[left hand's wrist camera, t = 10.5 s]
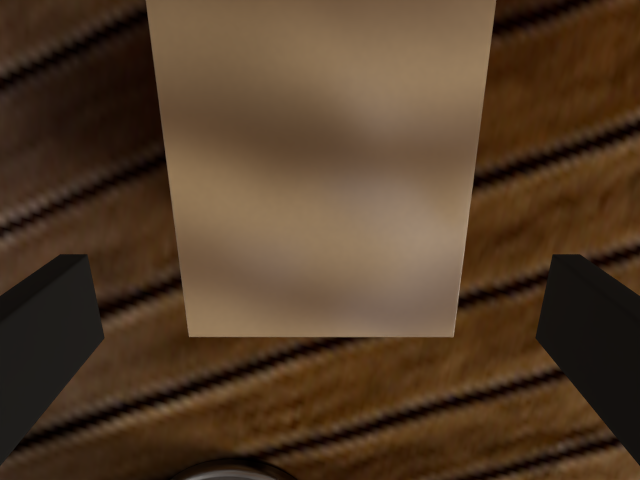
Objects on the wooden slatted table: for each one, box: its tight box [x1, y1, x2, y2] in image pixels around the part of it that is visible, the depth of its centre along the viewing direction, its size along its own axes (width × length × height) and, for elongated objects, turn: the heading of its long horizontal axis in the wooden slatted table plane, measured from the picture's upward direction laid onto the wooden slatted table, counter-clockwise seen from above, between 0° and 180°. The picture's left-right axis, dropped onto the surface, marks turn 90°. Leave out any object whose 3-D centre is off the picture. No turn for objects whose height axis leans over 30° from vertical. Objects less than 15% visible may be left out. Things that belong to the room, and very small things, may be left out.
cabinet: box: [146, 0, 496, 337], centre depth 22 cm, size 17×12×12 cm
